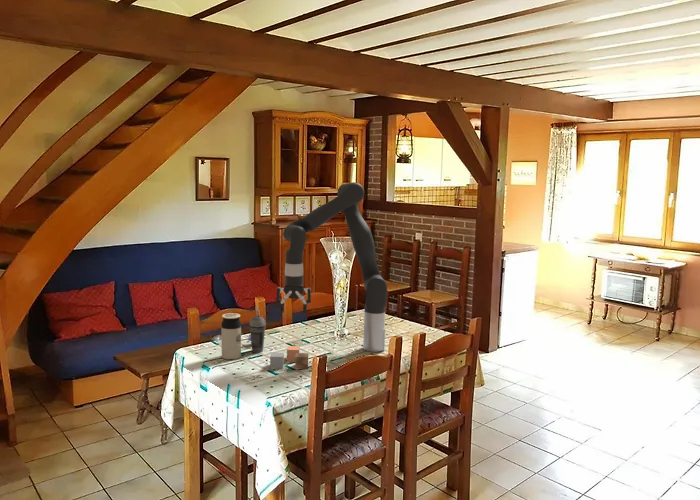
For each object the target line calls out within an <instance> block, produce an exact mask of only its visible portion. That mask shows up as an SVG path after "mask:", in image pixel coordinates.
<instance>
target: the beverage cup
mask: <svg viewBox="0 0 700 500" xmlns="http://www.w3.org/2000/svg"><path fill="white" fill-rule="evenodd" d="M255 311H256V316H253V317H252V318H251V319H250V321H249V325H248V327H249V331H250V332H251V333H250V332H249V333H250V335H251V341H250V345H251V349H252V350H251V351H252V353H253V354H255V353H256V354H259V353H263V351H264V346H265V345H264V343H265V335H266V334H265V332H266V327H267V323H266V320H265V319H264V317H262V316H260V315H258V305H256V308H255Z"/></svg>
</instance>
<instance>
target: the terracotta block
mask: <svg viewBox="0 0 700 500" xmlns="http://www.w3.org/2000/svg"><path fill="white" fill-rule="evenodd" d="M300 349H301V348H300V346H299V345H287V348H286V362H295V357H296V353H301V352H300Z"/></svg>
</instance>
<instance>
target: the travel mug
mask: <svg viewBox="0 0 700 500" xmlns="http://www.w3.org/2000/svg"><path fill="white" fill-rule="evenodd" d="M221 315H222V316H221V317H222V322H221V323H220V324H221V325H220V326H221V358H222V359H224V360H227V359H233V360H237V359H239V358H241V357H242V322H241V320H240V317H241V314H240V313H235V312H234V313H233V312H229V313H224V314H221Z"/></svg>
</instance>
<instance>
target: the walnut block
mask: <svg viewBox="0 0 700 500" xmlns="http://www.w3.org/2000/svg"><path fill="white" fill-rule="evenodd" d="M294 363H295V367H294V369H295V370H309V353H308V352H299V353H296V357H295V361H294Z"/></svg>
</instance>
